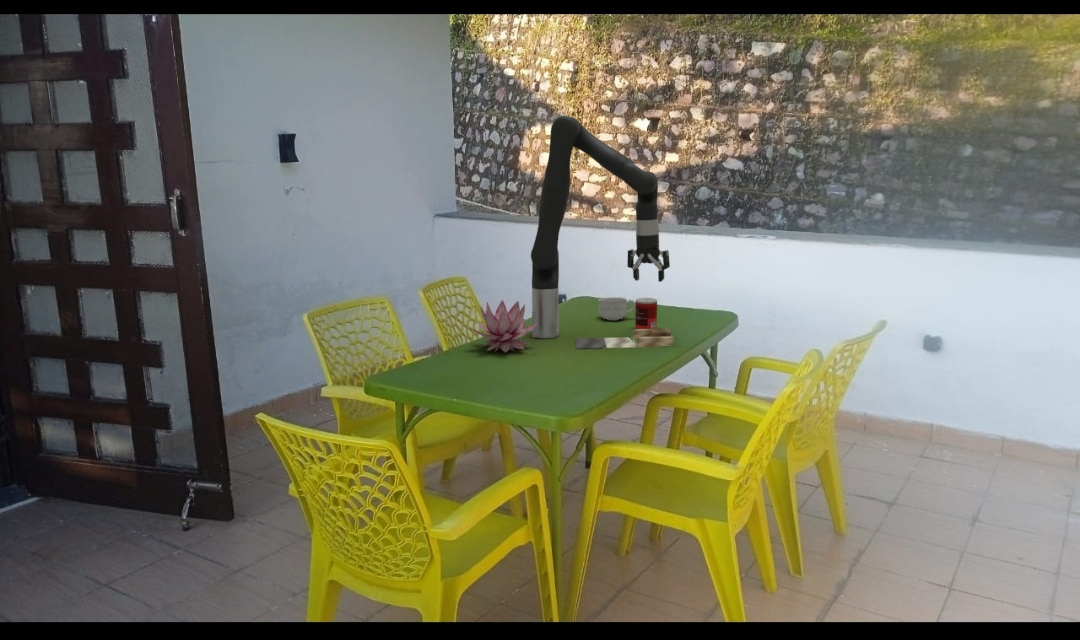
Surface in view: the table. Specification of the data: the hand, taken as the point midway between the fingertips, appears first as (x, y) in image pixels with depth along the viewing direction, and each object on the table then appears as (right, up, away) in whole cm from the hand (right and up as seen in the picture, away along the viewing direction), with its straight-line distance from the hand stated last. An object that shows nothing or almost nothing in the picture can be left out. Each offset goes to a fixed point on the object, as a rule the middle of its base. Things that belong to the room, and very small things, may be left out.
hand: (648, 280), depth 272 cm
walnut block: (+4, -21, 0) cm, 21 cm away
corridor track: (-9, -21, 0) cm, 23 cm away
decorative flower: (-49, -23, -5) cm, 54 cm away
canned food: (+1, -17, +18) cm, 25 cm away
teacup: (-8, -13, +35) cm, 38 cm away
